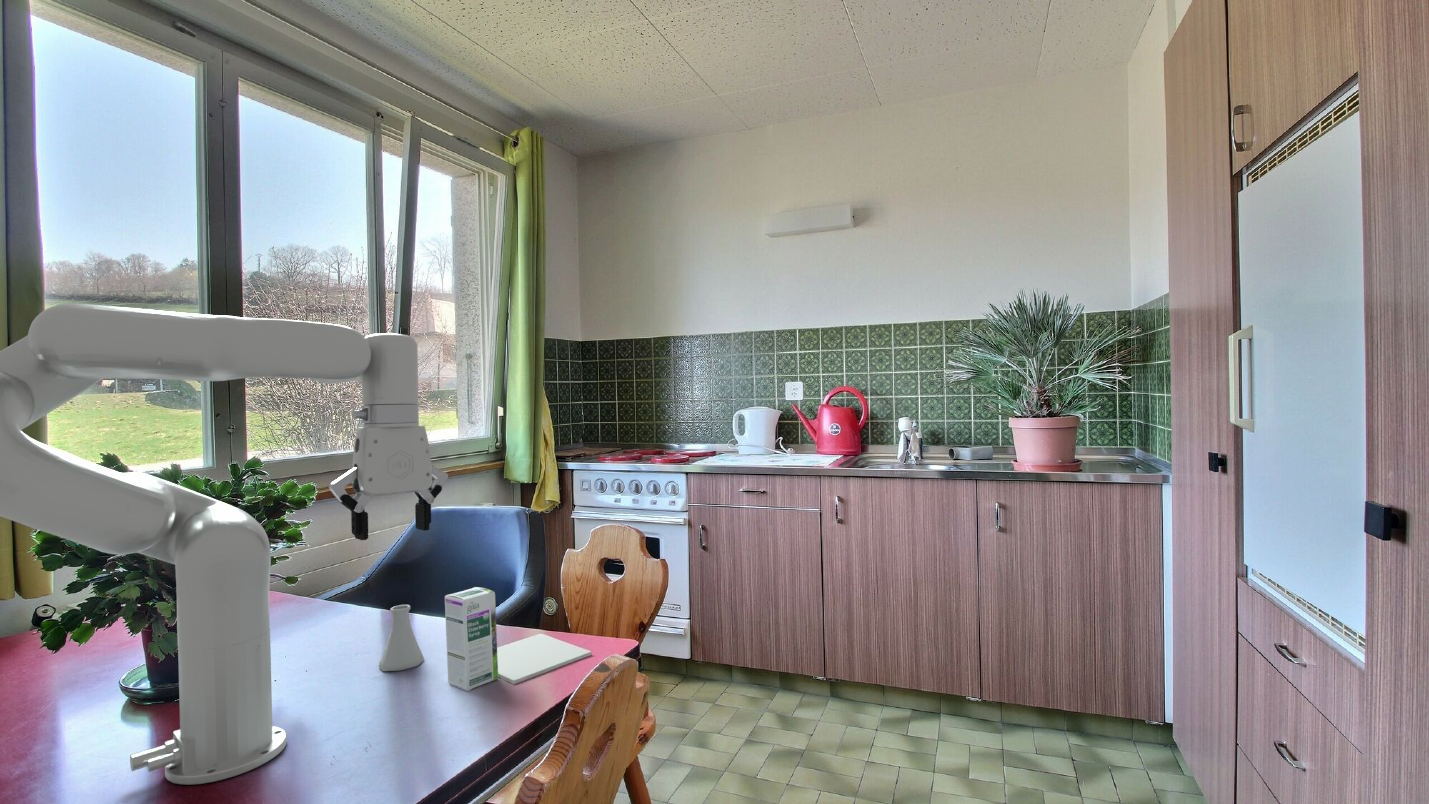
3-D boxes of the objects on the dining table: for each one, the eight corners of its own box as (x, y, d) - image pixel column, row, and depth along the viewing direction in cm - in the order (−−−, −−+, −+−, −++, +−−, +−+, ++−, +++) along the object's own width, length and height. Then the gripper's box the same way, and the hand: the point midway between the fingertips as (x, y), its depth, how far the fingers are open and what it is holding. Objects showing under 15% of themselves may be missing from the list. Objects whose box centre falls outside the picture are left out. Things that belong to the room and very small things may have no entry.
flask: (423, 668, 113) (422, 610, 113) (376, 675, 110) (375, 616, 110) (425, 654, 120) (423, 599, 120) (380, 660, 117) (379, 604, 117)
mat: (513, 684, 105) (513, 680, 105) (465, 661, 115) (465, 658, 115) (591, 654, 117) (591, 651, 117) (541, 636, 127) (540, 633, 127)
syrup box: (467, 692, 103) (464, 599, 103) (446, 683, 106) (444, 593, 106) (498, 679, 107) (496, 590, 107) (477, 671, 111) (475, 585, 111)
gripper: (336, 418, 89) (339, 547, 89) (459, 415, 102) (460, 528, 102) (317, 418, 94) (319, 541, 94) (436, 416, 107) (437, 523, 107)
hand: (392, 533), depth 98 cm, fingers open, 8 cm apart
